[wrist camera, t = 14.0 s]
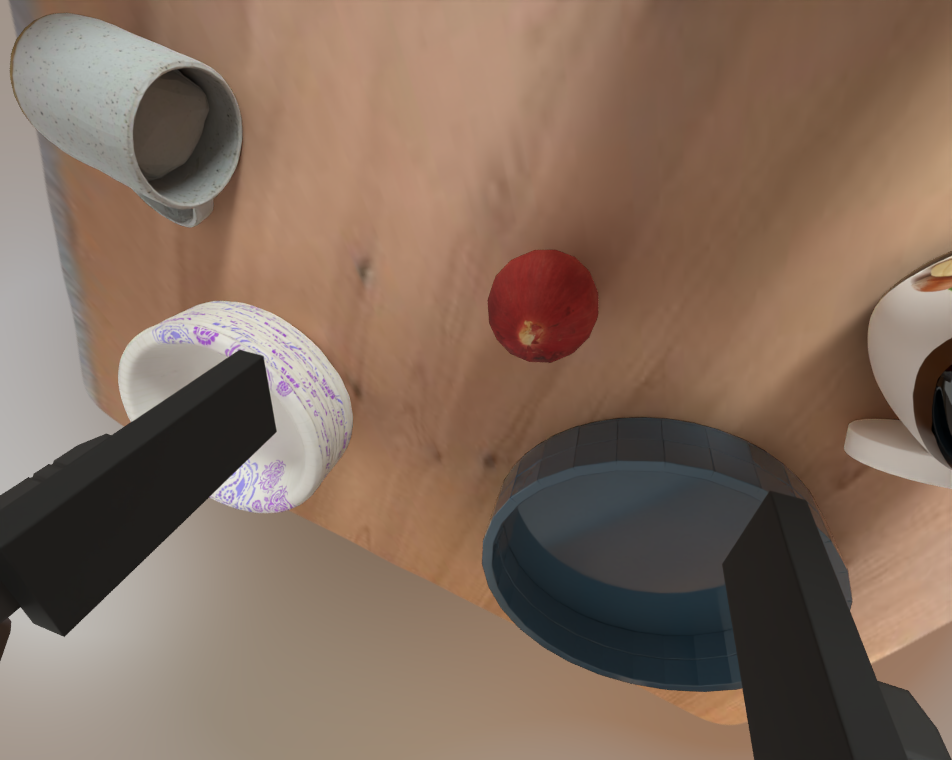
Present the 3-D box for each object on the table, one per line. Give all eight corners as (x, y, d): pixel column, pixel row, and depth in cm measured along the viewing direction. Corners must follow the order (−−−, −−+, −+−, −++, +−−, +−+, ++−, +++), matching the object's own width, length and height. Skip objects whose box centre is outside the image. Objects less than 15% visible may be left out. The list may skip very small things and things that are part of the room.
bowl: (605, 354, 30) (601, 392, 26) (917, 542, 30) (956, 605, 27) (451, 542, 43) (434, 584, 39) (670, 669, 44) (673, 722, 40)
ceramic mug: (117, 10, 27) (-40, -10, 21) (245, 63, 26) (125, 59, 20) (140, 194, 33) (24, 222, 27) (244, 239, 33) (151, 278, 26)
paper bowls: (349, 285, 32) (278, 335, 26) (387, 459, 40) (339, 532, 33) (172, 280, 36) (71, 323, 30) (237, 439, 44) (168, 500, 37)
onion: (600, 329, 29) (591, 400, 22) (507, 327, 30) (474, 392, 24) (603, 232, 26) (594, 281, 19) (501, 235, 27) (460, 281, 21)
